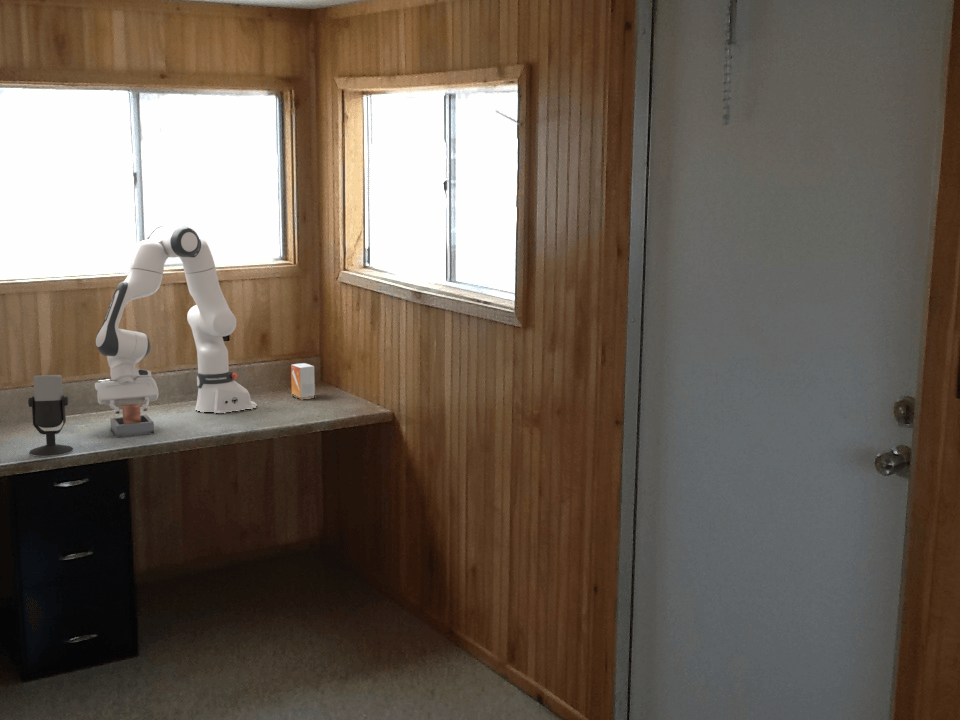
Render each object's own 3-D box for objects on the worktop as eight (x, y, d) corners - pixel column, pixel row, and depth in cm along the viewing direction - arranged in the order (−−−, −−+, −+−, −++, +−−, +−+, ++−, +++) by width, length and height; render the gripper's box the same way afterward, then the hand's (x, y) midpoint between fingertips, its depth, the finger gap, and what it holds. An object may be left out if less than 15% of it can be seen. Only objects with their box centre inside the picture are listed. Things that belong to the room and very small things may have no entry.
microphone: (75, 445, 370) (71, 370, 366) (69, 456, 358) (64, 377, 353) (33, 447, 368) (28, 371, 363) (26, 457, 355) (20, 379, 351)
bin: (146, 426, 398) (146, 414, 397) (154, 433, 387) (153, 422, 386) (110, 429, 392) (110, 418, 391) (117, 437, 381) (116, 425, 381)
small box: (291, 397, 446) (290, 364, 444) (306, 395, 450) (305, 362, 447) (300, 400, 439) (300, 367, 437) (315, 398, 443) (314, 365, 441)
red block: (138, 426, 393) (137, 403, 391) (141, 429, 388) (140, 406, 387) (123, 427, 390) (122, 405, 389) (126, 431, 386) (124, 408, 385)
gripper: (94, 375, 388) (100, 409, 381) (155, 370, 397) (162, 403, 391) (92, 386, 393) (99, 419, 386) (153, 380, 402) (160, 413, 395)
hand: (131, 411), depth 388 cm, fingers open, 8 cm apart
